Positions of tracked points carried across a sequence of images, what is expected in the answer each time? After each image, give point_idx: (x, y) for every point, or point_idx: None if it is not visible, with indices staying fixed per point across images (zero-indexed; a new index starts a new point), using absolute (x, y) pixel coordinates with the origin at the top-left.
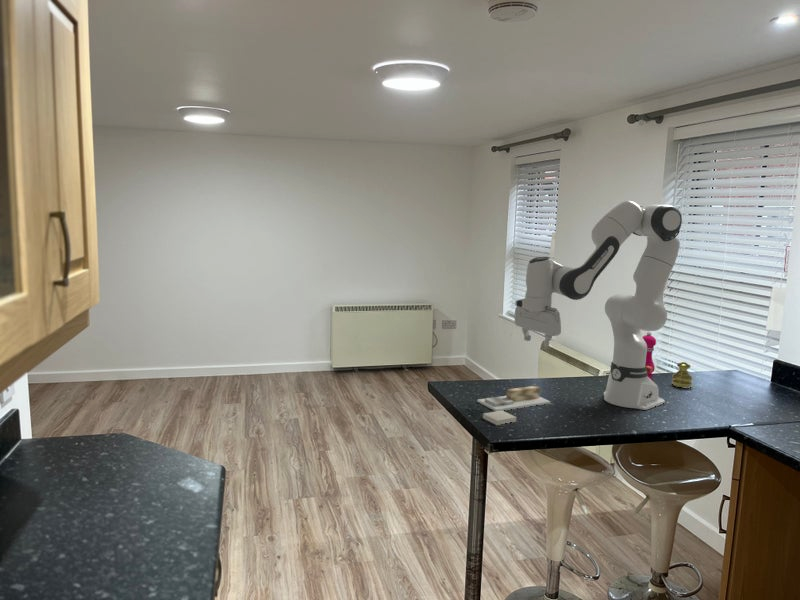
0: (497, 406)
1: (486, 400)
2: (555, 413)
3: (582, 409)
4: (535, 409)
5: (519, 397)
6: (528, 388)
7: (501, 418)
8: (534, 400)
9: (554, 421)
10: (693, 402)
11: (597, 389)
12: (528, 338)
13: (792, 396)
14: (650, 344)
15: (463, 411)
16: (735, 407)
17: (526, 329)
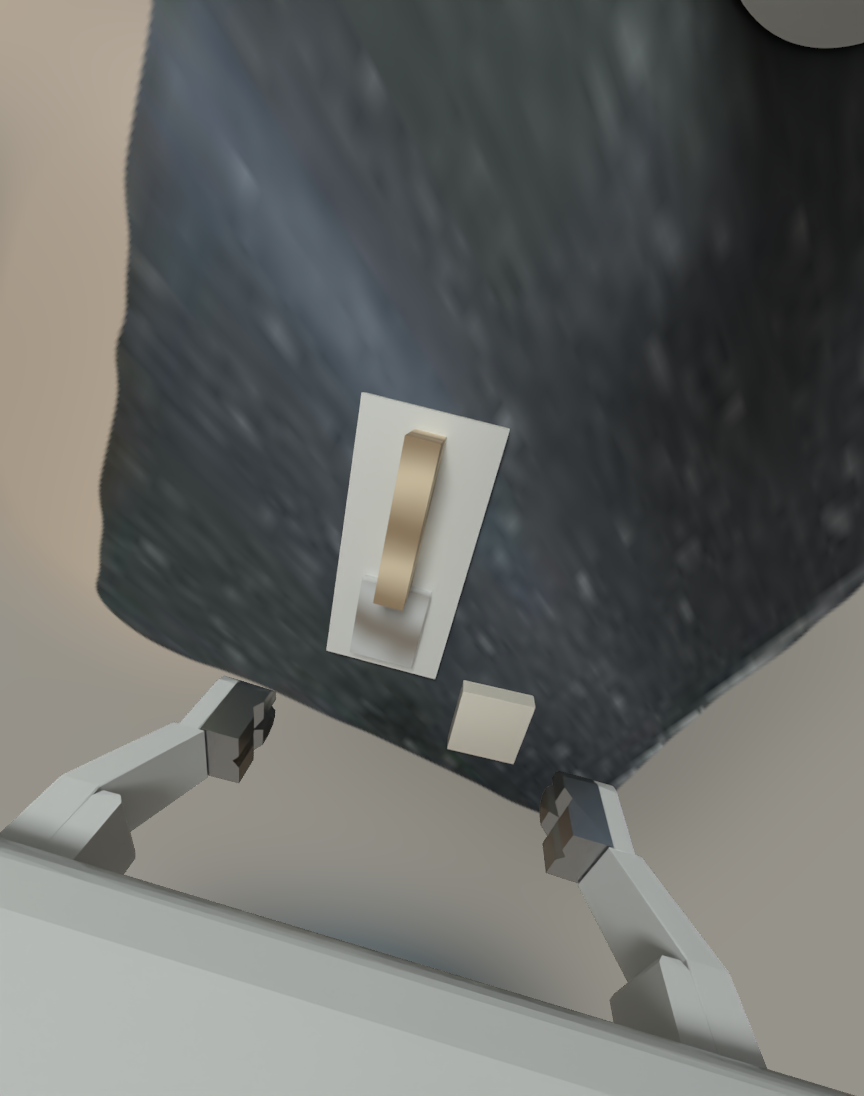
0: (415, 654)
1: (359, 651)
2: (592, 525)
3: (670, 358)
4: (508, 550)
5: (418, 553)
6: (416, 511)
7: (509, 744)
8: (453, 484)
9: (632, 604)
10: None
11: None
12: (253, 730)
13: None
14: None
15: (376, 733)
16: None
17: (115, 856)
